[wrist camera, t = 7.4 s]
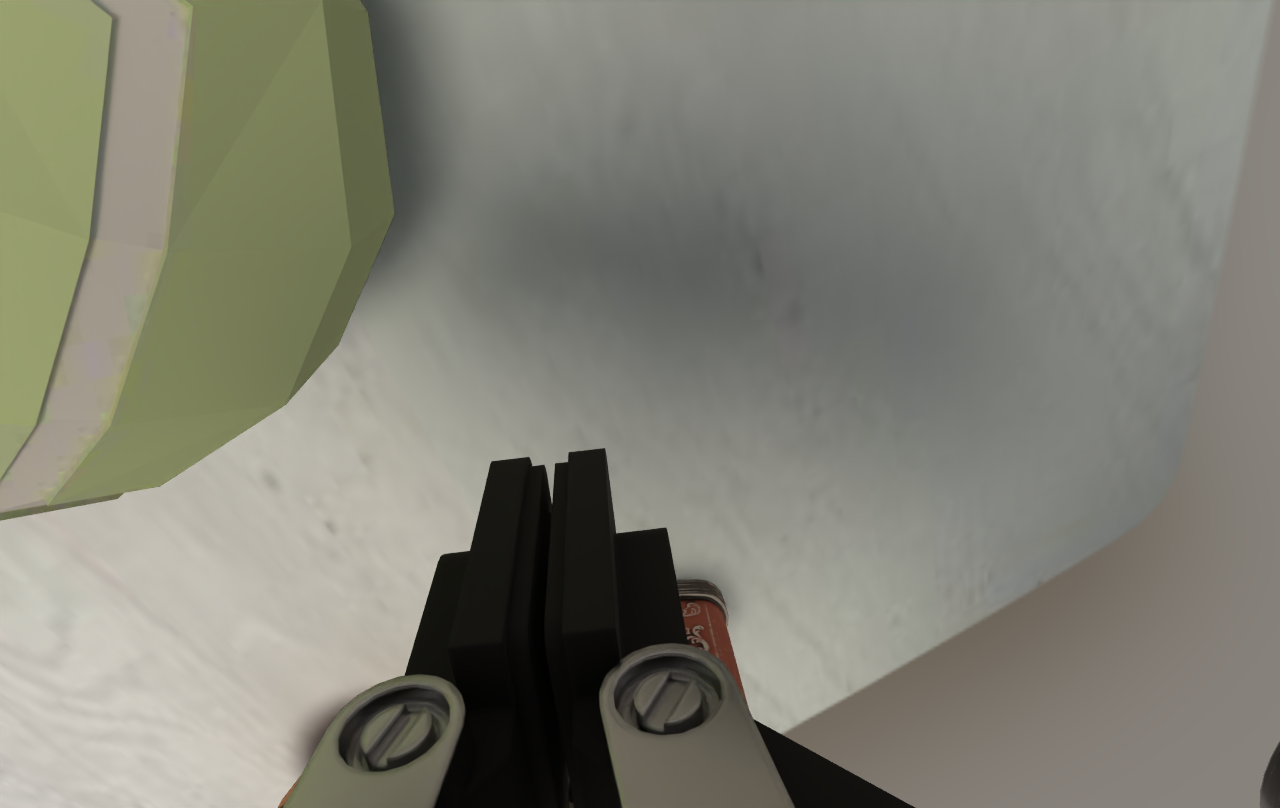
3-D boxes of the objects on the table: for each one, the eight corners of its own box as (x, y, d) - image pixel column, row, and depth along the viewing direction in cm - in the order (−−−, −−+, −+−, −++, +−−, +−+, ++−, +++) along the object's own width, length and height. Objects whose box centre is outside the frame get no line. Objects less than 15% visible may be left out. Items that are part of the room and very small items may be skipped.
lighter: (535, 671, 31) (517, 925, 22) (515, 606, 29) (487, 847, 20) (729, 634, 31) (793, 872, 22) (718, 567, 29) (781, 791, 20)
